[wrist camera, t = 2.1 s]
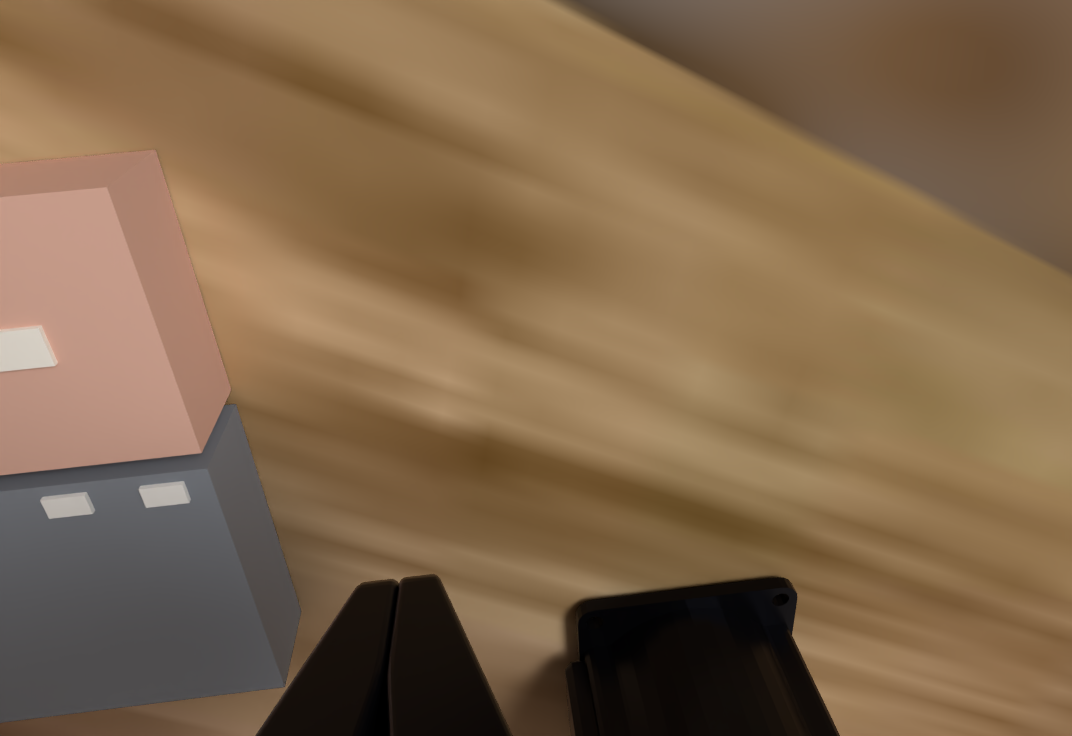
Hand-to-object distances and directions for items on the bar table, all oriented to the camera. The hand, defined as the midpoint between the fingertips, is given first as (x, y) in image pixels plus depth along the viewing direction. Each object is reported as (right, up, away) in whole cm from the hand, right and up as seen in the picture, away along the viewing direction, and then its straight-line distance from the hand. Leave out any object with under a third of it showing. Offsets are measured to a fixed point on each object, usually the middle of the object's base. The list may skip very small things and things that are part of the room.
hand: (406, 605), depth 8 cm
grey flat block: (-12, -2, +11) cm, 17 cm away
